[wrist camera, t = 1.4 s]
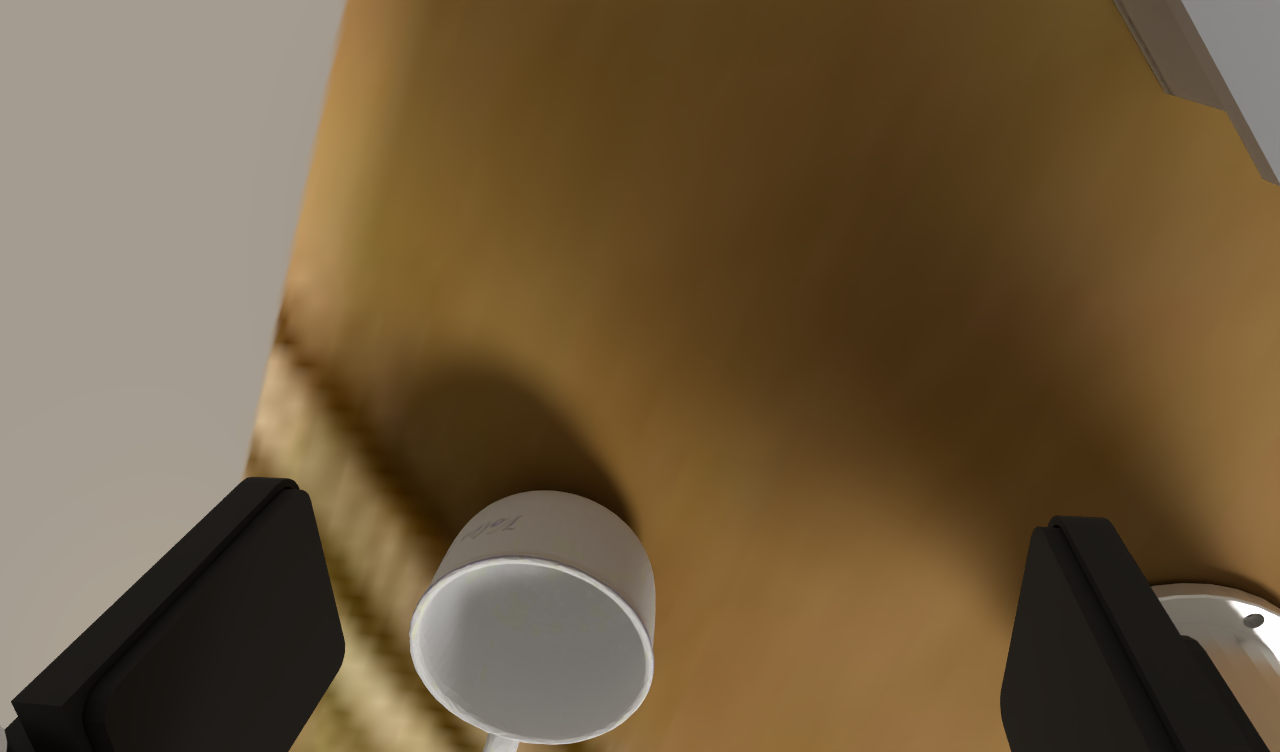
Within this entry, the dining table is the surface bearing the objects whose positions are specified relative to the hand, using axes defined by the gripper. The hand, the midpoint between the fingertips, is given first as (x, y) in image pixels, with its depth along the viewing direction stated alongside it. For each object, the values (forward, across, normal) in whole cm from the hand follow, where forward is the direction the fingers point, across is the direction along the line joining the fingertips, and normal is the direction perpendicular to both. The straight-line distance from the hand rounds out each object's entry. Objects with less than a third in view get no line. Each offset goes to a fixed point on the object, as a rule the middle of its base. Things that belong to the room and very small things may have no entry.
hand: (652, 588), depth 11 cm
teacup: (+26, +9, +21) cm, 35 cm away
